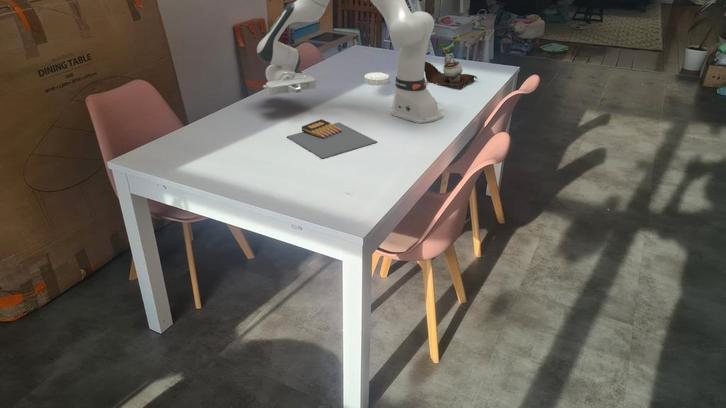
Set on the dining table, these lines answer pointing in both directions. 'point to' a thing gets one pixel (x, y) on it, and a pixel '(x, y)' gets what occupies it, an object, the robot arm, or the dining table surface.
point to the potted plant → (448, 70)
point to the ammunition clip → (320, 128)
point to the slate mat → (332, 141)
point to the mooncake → (376, 78)
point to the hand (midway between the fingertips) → (298, 90)
